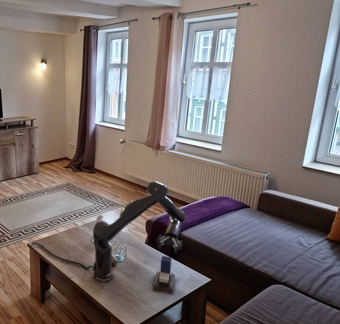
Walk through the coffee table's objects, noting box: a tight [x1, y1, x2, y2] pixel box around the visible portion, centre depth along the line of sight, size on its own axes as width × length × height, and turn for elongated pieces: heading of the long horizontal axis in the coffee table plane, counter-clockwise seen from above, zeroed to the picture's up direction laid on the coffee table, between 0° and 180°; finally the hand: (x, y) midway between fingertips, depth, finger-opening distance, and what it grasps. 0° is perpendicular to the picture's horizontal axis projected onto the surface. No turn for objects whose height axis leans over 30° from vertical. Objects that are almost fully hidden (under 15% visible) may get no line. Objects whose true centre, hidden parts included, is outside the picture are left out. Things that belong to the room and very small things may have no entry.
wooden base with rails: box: [152, 270, 176, 294], centre depth 181 cm, size 10×13×4 cm
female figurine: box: [88, 213, 104, 244], centre depth 222 cm, size 11×16×20 cm
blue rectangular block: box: [159, 255, 172, 287], centre depth 179 cm, size 11×5×11 cm, turn 161°
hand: (167, 250), depth 190 cm, fingers open, 8 cm apart
